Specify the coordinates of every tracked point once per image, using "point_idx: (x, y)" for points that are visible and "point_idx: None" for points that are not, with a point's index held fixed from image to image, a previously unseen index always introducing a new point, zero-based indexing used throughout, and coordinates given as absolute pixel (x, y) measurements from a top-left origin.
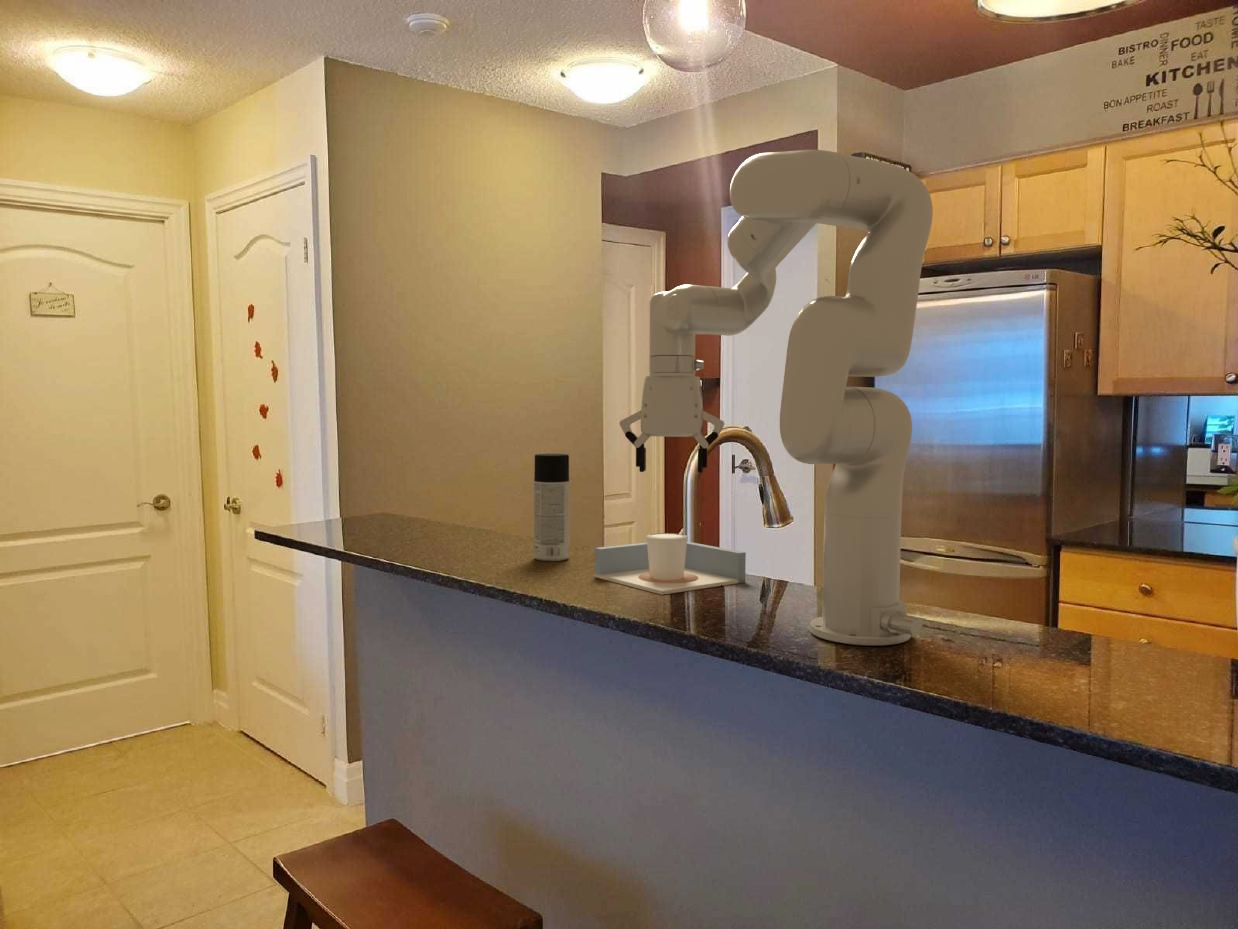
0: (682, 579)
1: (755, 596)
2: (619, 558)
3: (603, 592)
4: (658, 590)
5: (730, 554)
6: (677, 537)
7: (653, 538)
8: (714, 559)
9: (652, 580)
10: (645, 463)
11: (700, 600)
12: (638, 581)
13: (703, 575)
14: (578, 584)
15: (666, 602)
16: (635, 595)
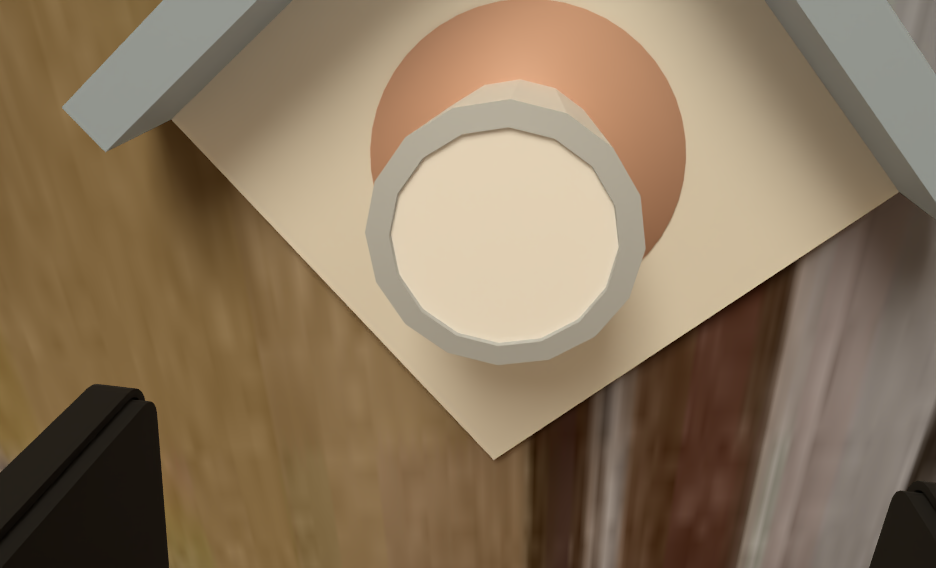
0: None
1: (894, 462)
2: (227, 47)
3: (256, 413)
4: (480, 443)
5: (915, 179)
6: (571, 328)
7: (418, 332)
8: (818, 55)
9: None
10: (113, 485)
11: (646, 532)
12: None
13: (723, 86)
14: (115, 261)
15: (513, 563)
16: (390, 459)
